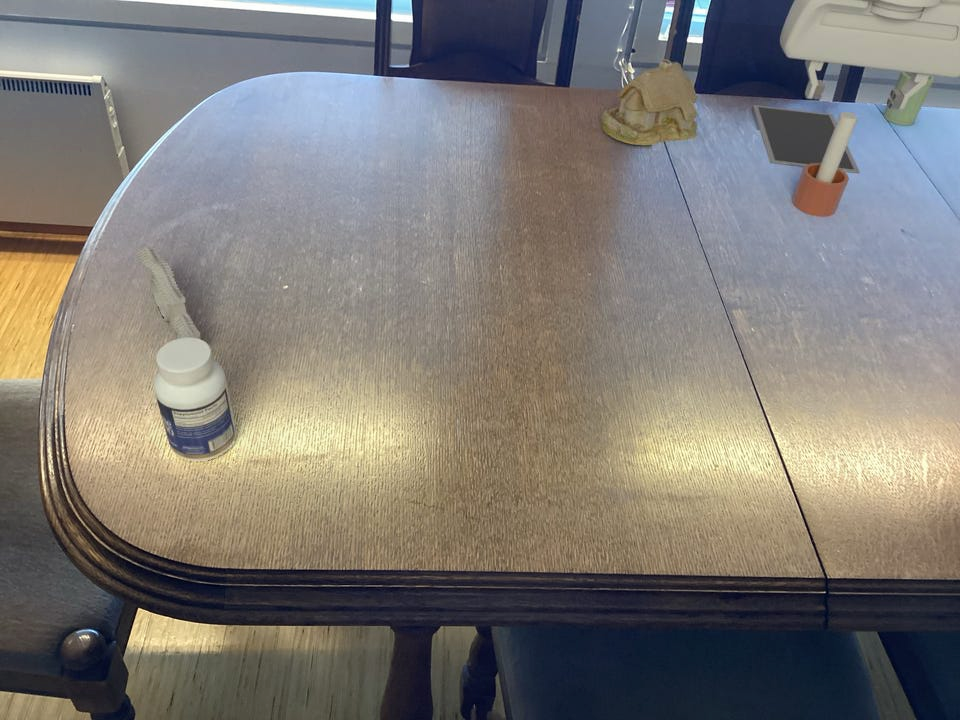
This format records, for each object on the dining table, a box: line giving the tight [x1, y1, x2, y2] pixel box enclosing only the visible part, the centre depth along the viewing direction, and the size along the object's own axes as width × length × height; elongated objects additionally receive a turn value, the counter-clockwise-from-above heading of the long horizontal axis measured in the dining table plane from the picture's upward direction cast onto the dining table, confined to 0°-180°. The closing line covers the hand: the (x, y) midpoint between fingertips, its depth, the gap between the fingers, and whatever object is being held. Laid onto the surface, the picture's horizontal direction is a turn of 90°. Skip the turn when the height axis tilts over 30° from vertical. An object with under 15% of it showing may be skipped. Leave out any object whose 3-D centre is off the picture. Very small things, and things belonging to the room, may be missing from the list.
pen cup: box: [882, 71, 935, 126], centre depth 124 cm, size 5×5×7 cm
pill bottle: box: [153, 337, 237, 461], centre depth 65 cm, size 5×5×10 cm
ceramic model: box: [600, 58, 698, 146], centre depth 114 cm, size 14×11×10 cm
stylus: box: [815, 111, 859, 183], centre depth 100 cm, size 2×2×12 cm
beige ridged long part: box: [137, 245, 202, 340], centre depth 77 cm, size 12×2×6 cm, turn 33°
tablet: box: [751, 104, 861, 175], centre depth 118 cm, size 12×18×1 cm, turn 173°
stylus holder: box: [791, 163, 850, 218], centre depth 102 cm, size 5×5×5 cm
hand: (853, 102), depth 95 cm, fingers open, 8 cm apart
